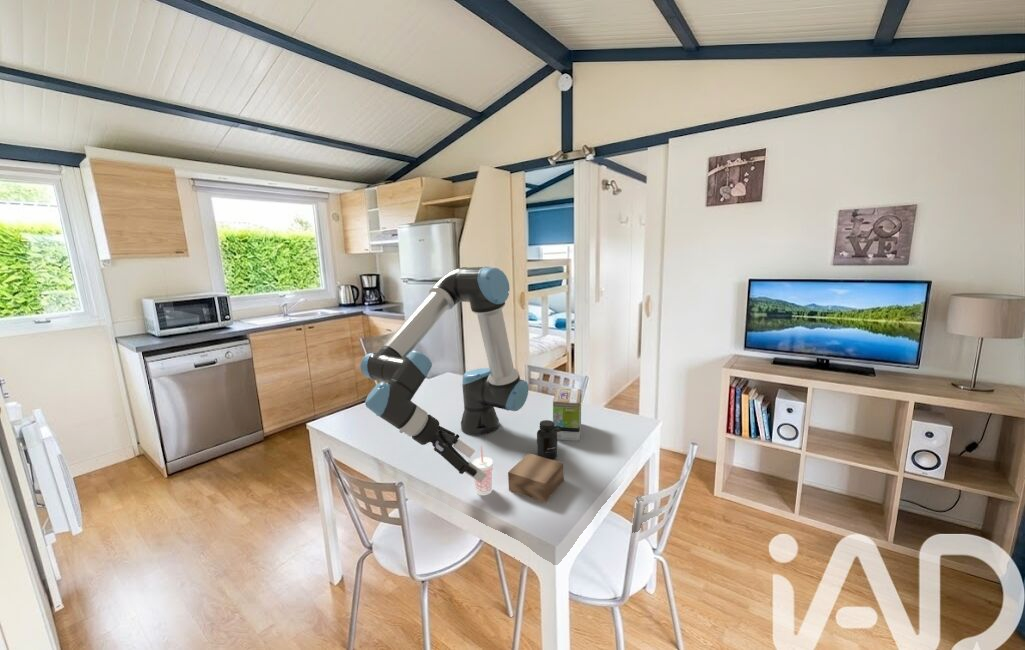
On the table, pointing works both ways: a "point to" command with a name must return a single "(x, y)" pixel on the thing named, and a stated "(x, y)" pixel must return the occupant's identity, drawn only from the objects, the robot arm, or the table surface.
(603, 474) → the table surface
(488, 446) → the table surface
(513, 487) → the walnut block
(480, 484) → the beverage cup
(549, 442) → the supplement bottle
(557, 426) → the tea box
